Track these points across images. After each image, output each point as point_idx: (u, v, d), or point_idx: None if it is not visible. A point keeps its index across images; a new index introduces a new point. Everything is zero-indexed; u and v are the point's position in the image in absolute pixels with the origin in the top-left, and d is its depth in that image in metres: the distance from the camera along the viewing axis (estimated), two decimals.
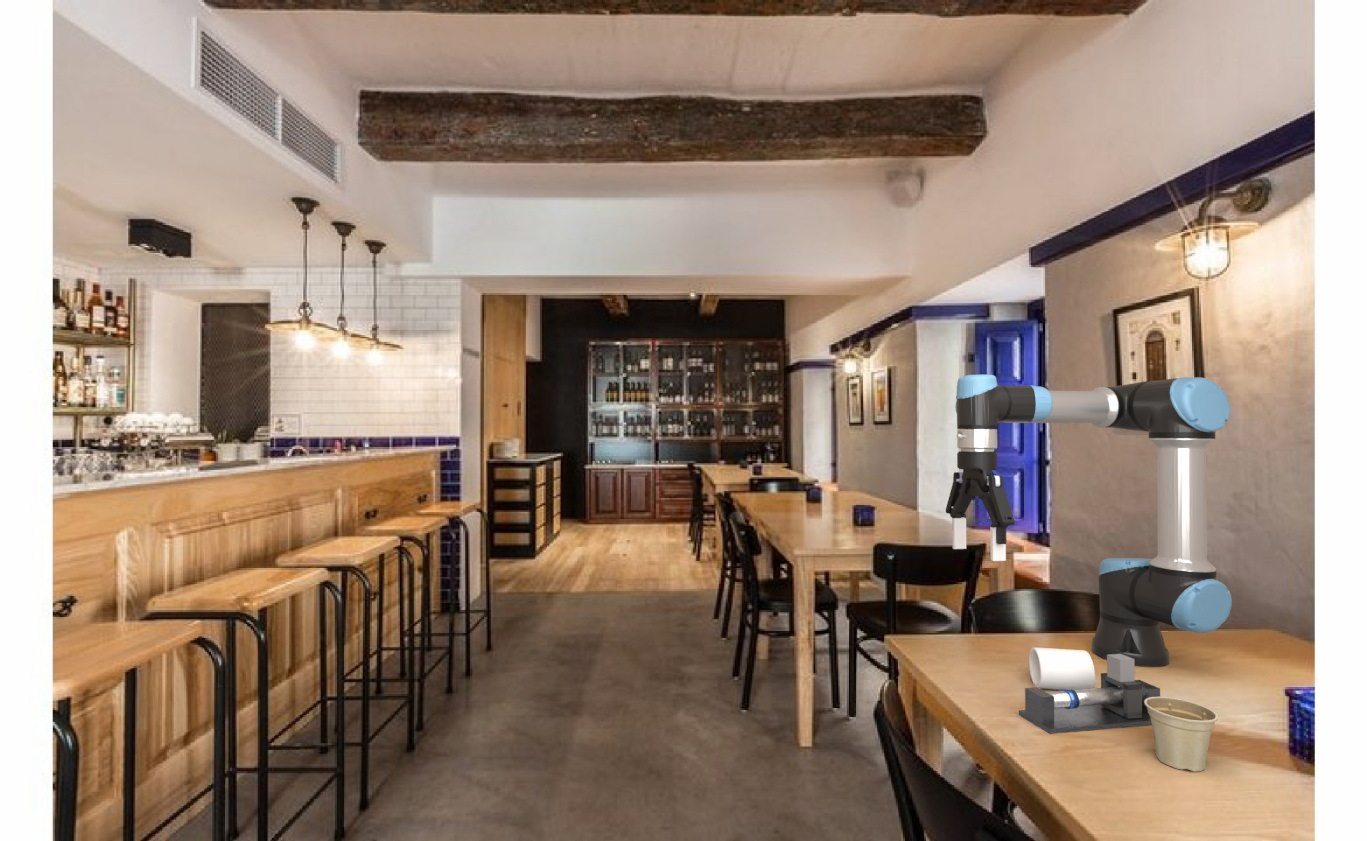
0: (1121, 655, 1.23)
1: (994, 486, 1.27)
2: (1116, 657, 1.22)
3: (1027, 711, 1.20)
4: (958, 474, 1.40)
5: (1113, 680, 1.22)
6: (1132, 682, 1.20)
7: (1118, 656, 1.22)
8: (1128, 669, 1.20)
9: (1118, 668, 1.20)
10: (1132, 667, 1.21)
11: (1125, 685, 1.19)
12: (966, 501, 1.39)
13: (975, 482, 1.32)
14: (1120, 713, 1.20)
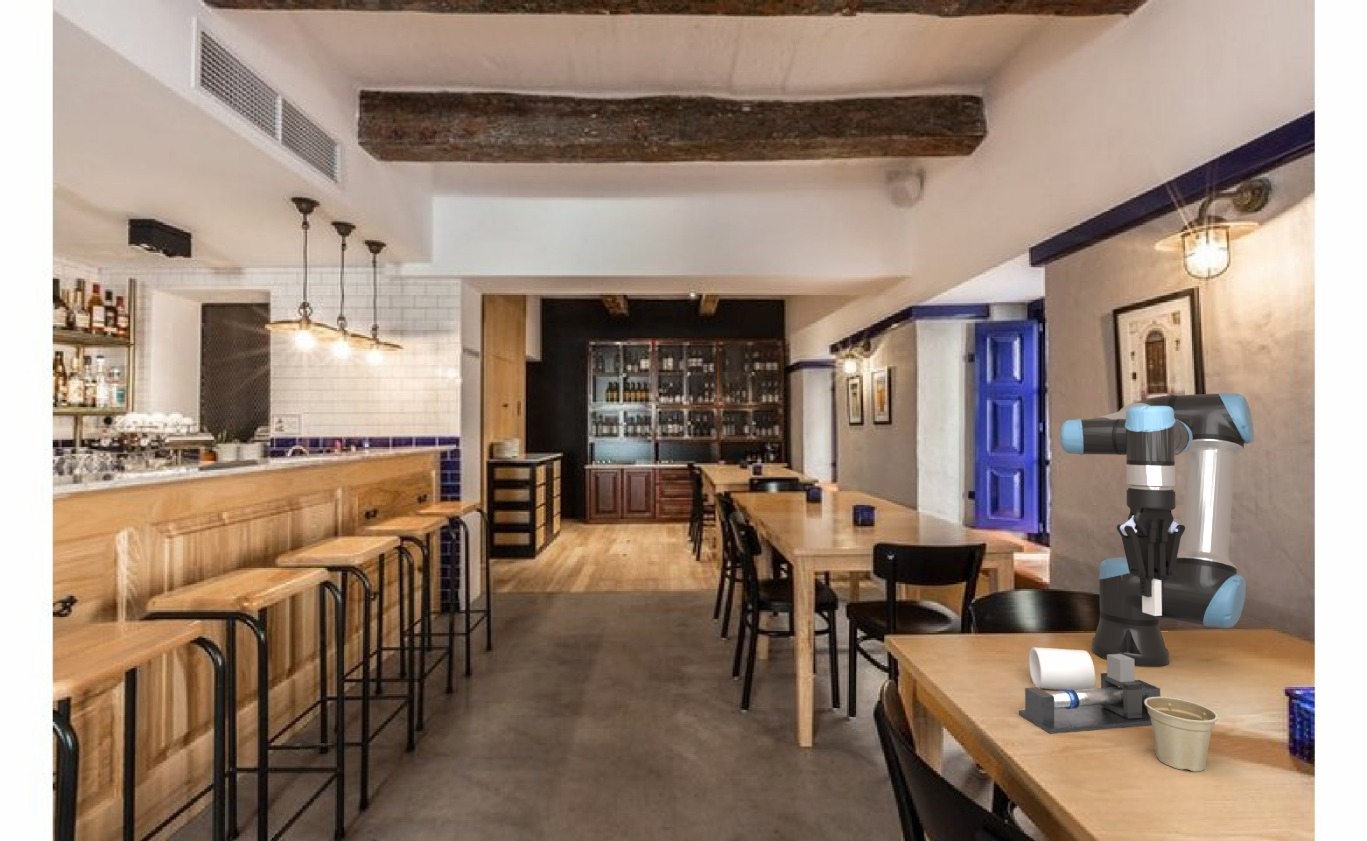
0: (1121, 655, 1.23)
1: (1122, 536, 1.23)
2: (1116, 657, 1.22)
3: (1027, 711, 1.20)
4: None
5: (1113, 680, 1.22)
6: (1132, 682, 1.20)
7: (1118, 656, 1.22)
8: (1128, 669, 1.20)
9: (1118, 668, 1.20)
10: (1132, 667, 1.21)
11: (1125, 685, 1.19)
12: (1155, 551, 1.23)
13: None
14: (1120, 713, 1.20)
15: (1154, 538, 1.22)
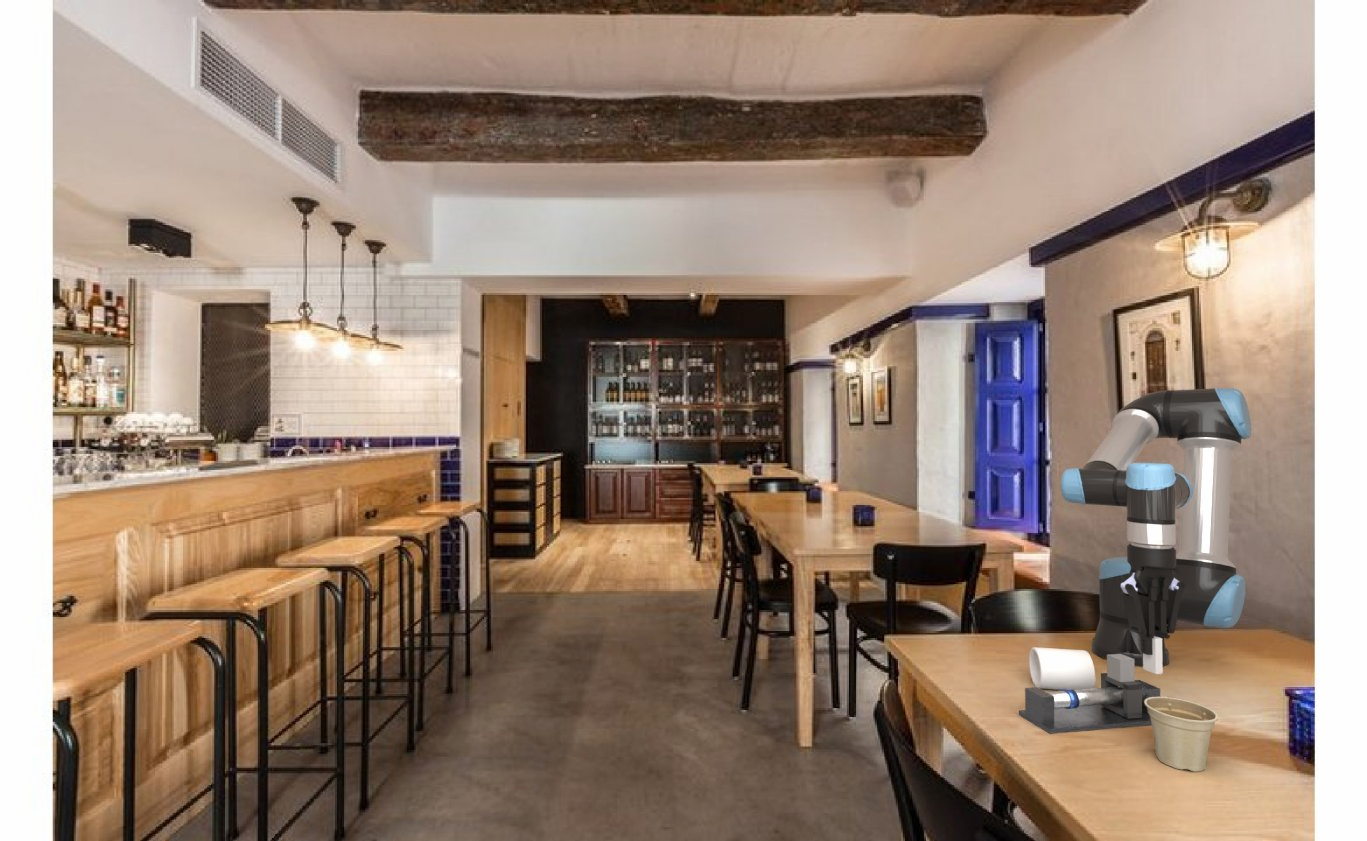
0: (1121, 655, 1.23)
1: (1123, 593, 1.23)
2: (1116, 657, 1.22)
3: (1027, 711, 1.20)
4: None
5: (1113, 680, 1.22)
6: (1132, 682, 1.20)
7: (1118, 656, 1.22)
8: (1128, 669, 1.20)
9: (1118, 668, 1.20)
10: (1132, 667, 1.21)
11: (1125, 685, 1.19)
12: (1156, 608, 1.23)
13: None
14: (1120, 713, 1.20)
15: (1155, 596, 1.21)
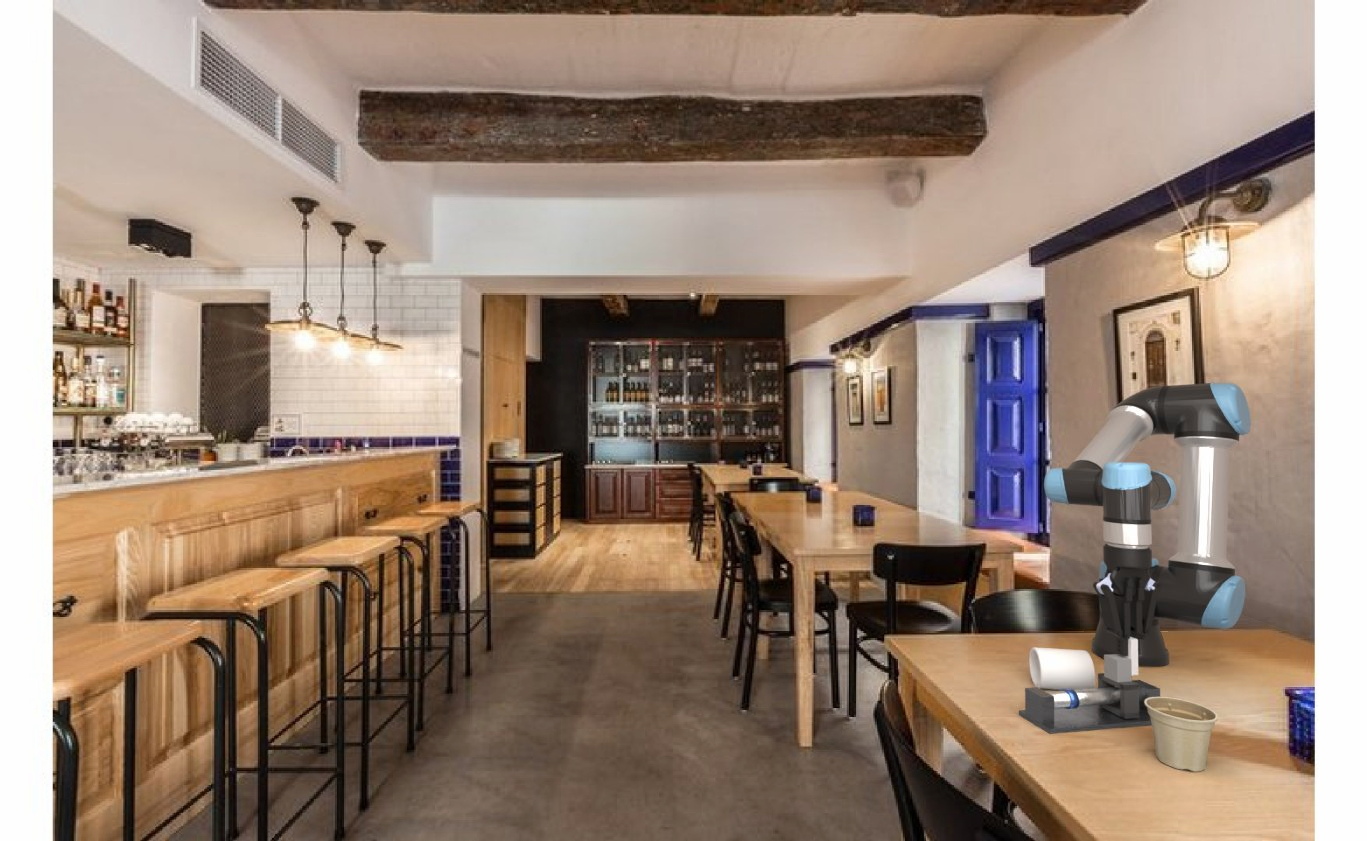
0: (1118, 655, 1.23)
1: (1099, 594, 1.22)
2: (1113, 657, 1.21)
3: (1027, 711, 1.20)
4: None
5: (1110, 680, 1.21)
6: (1129, 682, 1.20)
7: (1115, 656, 1.22)
8: (1126, 669, 1.20)
9: (1115, 668, 1.20)
10: (1129, 667, 1.20)
11: (1122, 685, 1.19)
12: (1132, 609, 1.22)
13: None
14: (1117, 713, 1.20)
15: (1130, 597, 1.21)
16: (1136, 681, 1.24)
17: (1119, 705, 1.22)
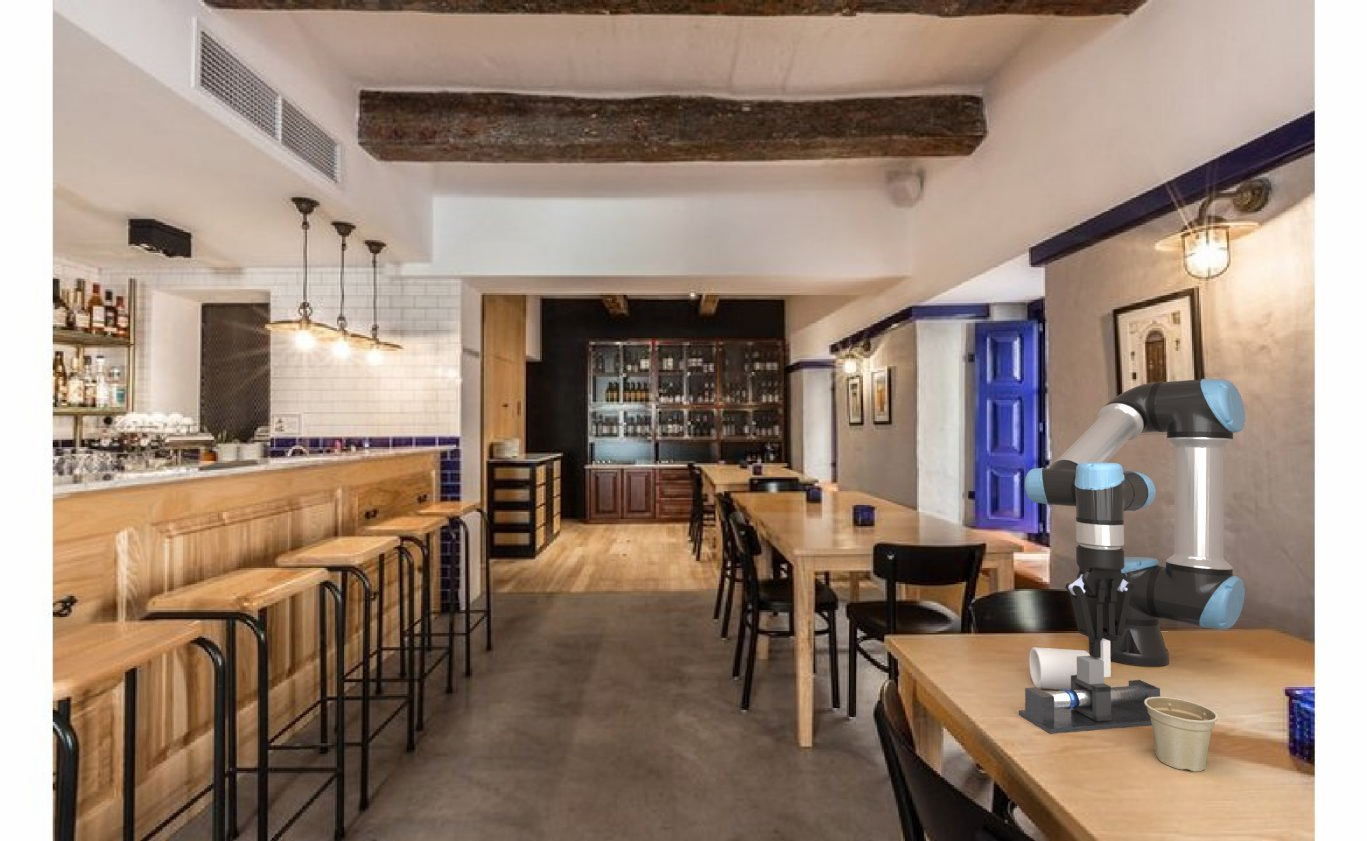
0: (1091, 657, 1.22)
1: (1071, 595, 1.21)
2: (1085, 659, 1.20)
3: (1027, 711, 1.20)
4: None
5: (1082, 682, 1.20)
6: (1101, 684, 1.19)
7: (1087, 658, 1.21)
8: (1098, 671, 1.19)
9: (1087, 670, 1.19)
10: (1101, 669, 1.19)
11: (1094, 687, 1.18)
12: (1104, 610, 1.21)
13: None
14: (1089, 716, 1.19)
15: (1103, 598, 1.19)
16: (1136, 681, 1.24)
17: (1092, 707, 1.21)
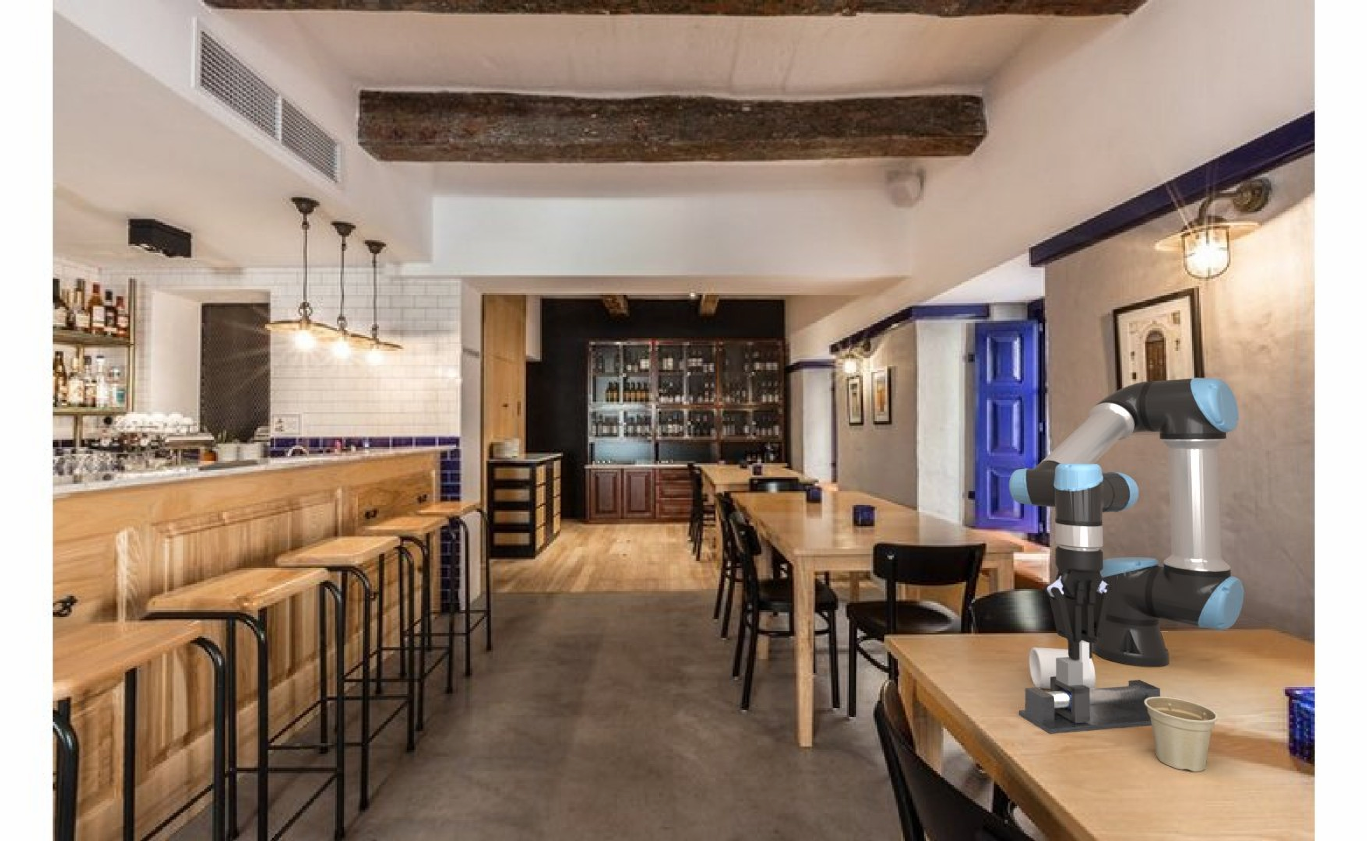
0: (1070, 658, 1.21)
1: (1050, 597, 1.20)
2: (1064, 660, 1.20)
3: (1027, 711, 1.20)
4: None
5: (1061, 684, 1.20)
6: (1080, 686, 1.18)
7: (1067, 659, 1.20)
8: (1077, 672, 1.19)
9: (1066, 671, 1.19)
10: (1080, 670, 1.19)
11: (1073, 689, 1.17)
12: (1083, 612, 1.20)
13: None
14: (1068, 717, 1.18)
15: (1081, 600, 1.19)
16: (1136, 681, 1.24)
17: (1071, 709, 1.20)
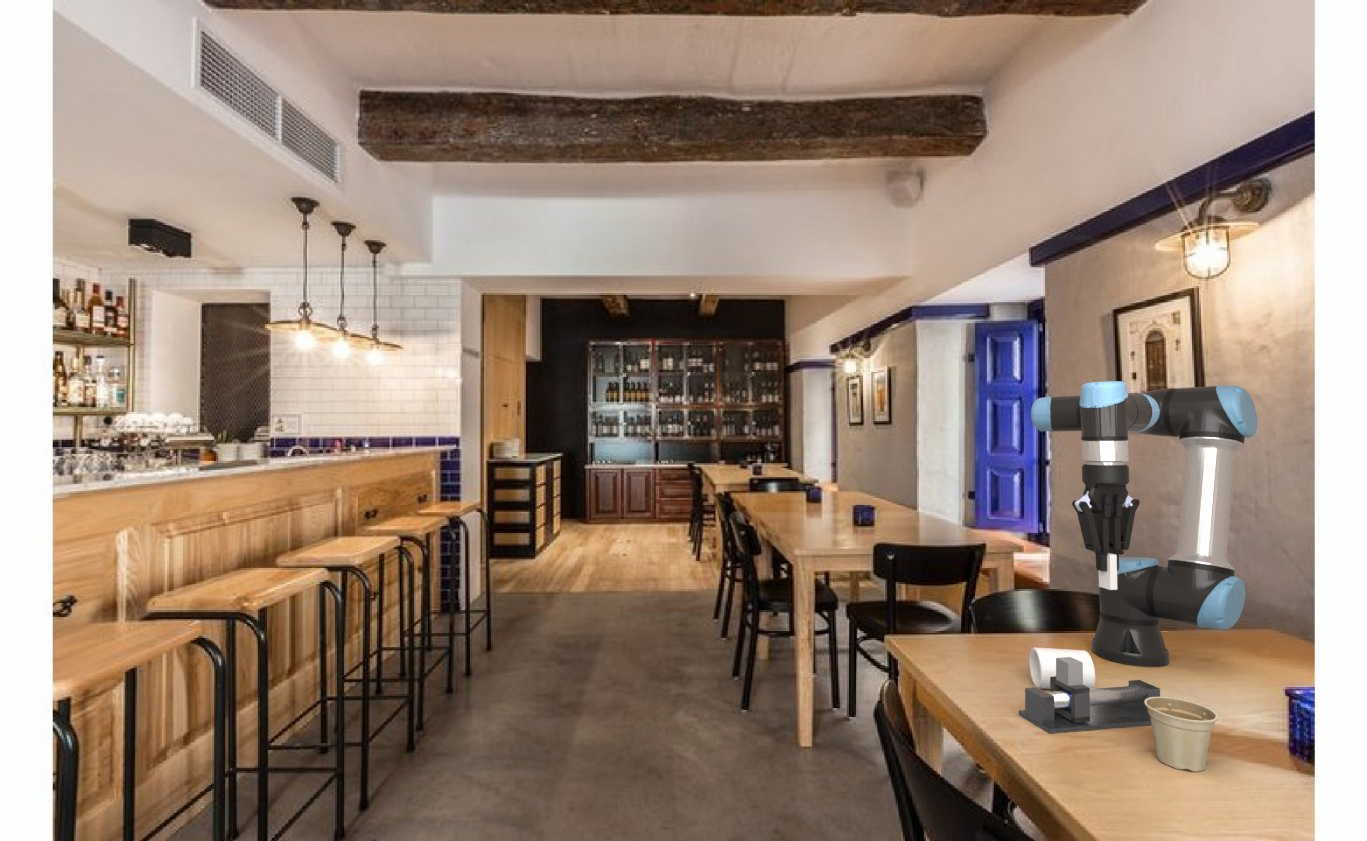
0: (1070, 658, 1.21)
1: (1078, 512, 1.24)
2: (1064, 660, 1.20)
3: (1027, 711, 1.20)
4: None
5: (1061, 684, 1.20)
6: (1080, 686, 1.18)
7: (1067, 659, 1.20)
8: (1077, 672, 1.19)
9: (1066, 671, 1.19)
10: (1080, 670, 1.19)
11: (1073, 689, 1.17)
12: (1110, 526, 1.24)
13: None
14: (1068, 717, 1.18)
15: (1108, 513, 1.22)
16: (1136, 681, 1.24)
17: (1071, 709, 1.20)
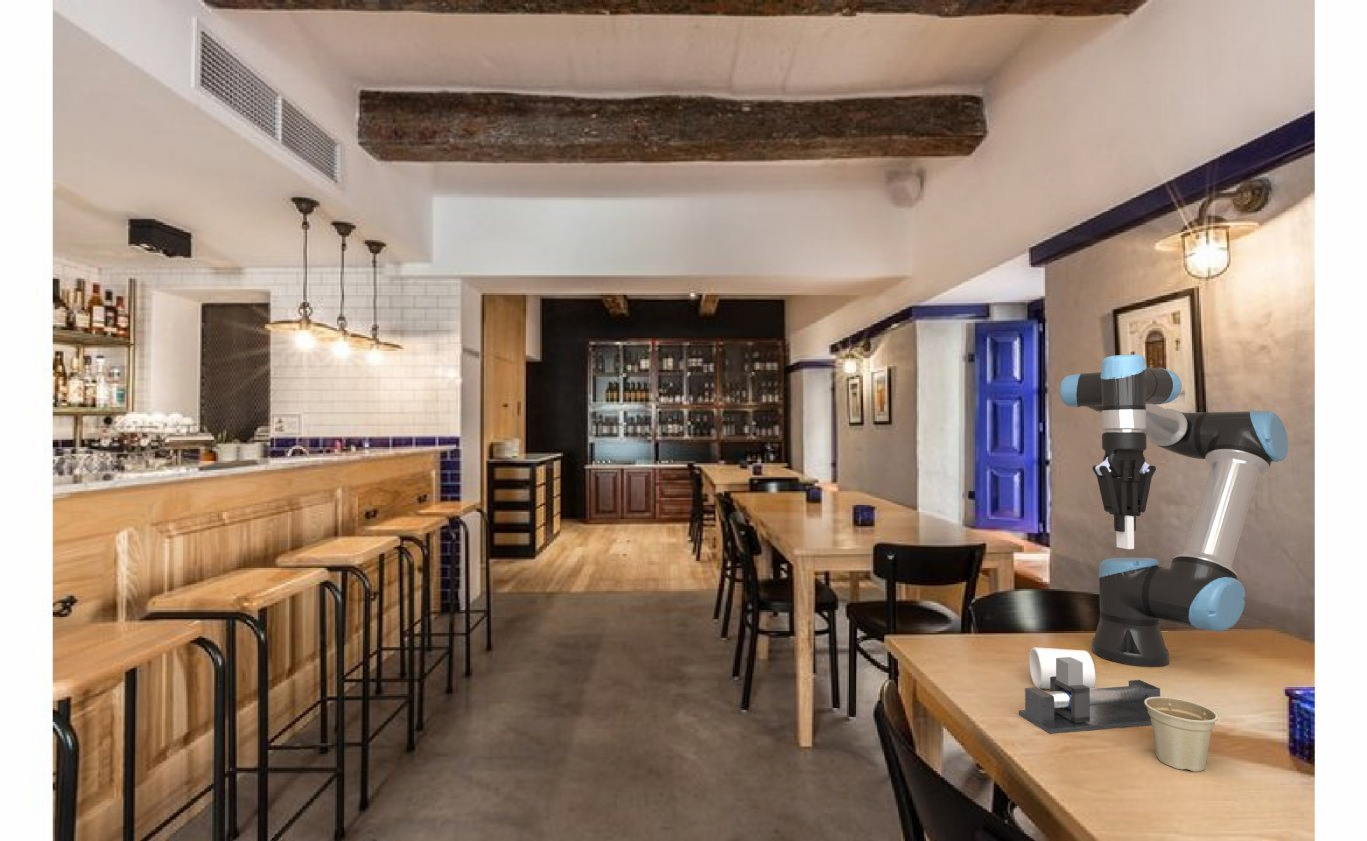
0: (1070, 658, 1.21)
1: (1098, 476, 1.33)
2: (1064, 660, 1.20)
3: (1027, 711, 1.20)
4: None
5: (1061, 684, 1.20)
6: (1080, 686, 1.18)
7: (1067, 659, 1.20)
8: (1077, 672, 1.19)
9: (1066, 671, 1.19)
10: (1080, 670, 1.19)
11: (1073, 689, 1.17)
12: (1128, 489, 1.33)
13: None
14: (1068, 717, 1.18)
15: (1127, 477, 1.31)
16: (1136, 681, 1.24)
17: (1071, 709, 1.20)
